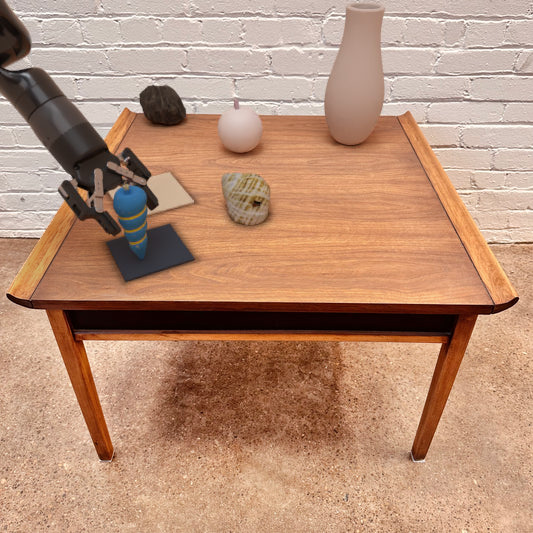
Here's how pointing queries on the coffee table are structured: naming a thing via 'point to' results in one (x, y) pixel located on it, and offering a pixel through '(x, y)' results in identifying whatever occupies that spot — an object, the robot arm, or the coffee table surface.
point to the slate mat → (150, 253)
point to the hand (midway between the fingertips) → (137, 220)
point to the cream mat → (165, 193)
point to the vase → (356, 76)
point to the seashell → (246, 197)
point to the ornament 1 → (132, 216)
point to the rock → (162, 104)
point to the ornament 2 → (240, 128)
